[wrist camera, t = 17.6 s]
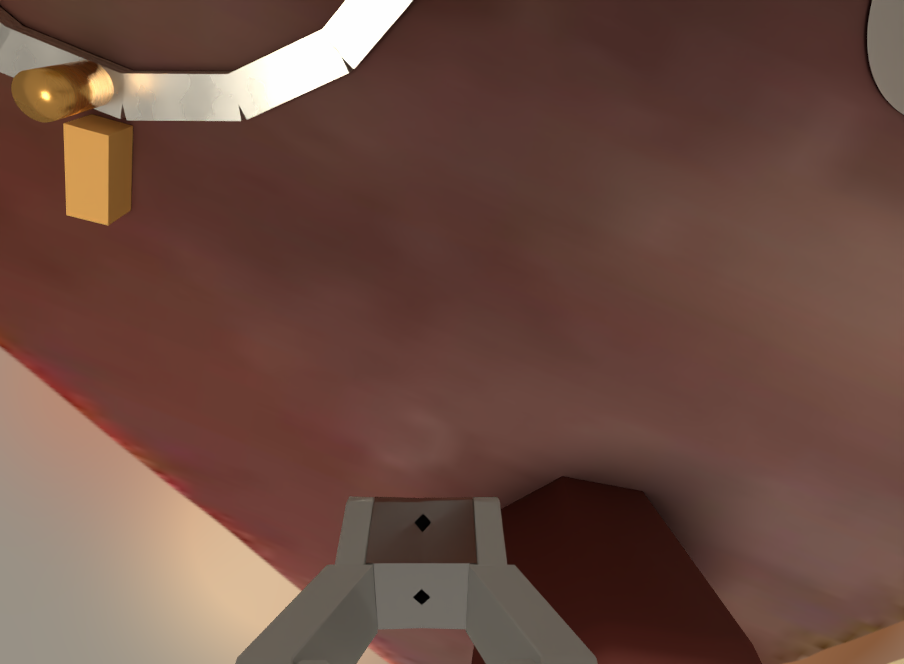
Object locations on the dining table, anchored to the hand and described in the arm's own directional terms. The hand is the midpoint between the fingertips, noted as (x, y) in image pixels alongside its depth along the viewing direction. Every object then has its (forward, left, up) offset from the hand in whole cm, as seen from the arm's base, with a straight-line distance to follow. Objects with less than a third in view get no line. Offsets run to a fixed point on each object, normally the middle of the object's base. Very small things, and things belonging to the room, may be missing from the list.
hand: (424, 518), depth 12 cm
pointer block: (+17, -10, -29) cm, 35 cm away
